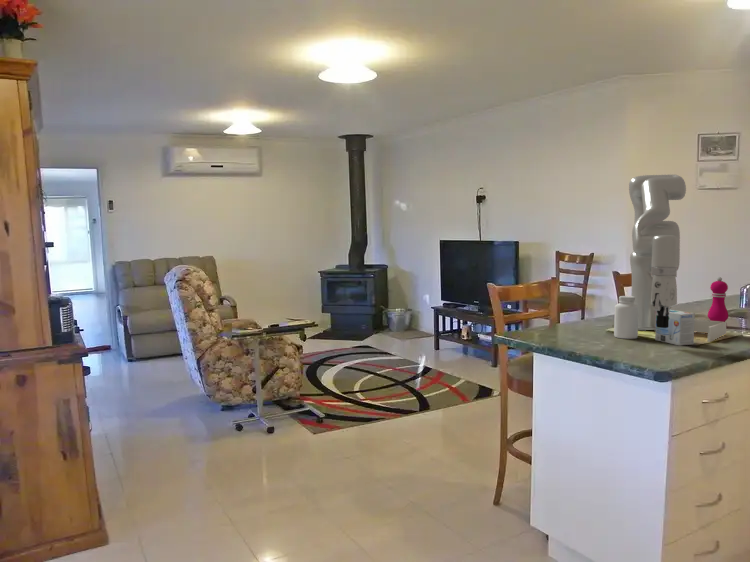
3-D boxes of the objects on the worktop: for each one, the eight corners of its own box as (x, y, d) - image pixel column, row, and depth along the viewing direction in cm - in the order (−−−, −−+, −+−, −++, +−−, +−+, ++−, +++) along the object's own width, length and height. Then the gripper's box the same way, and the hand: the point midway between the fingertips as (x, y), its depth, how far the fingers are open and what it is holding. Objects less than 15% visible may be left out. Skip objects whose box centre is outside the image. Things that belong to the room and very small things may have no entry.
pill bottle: (635, 335, 213) (636, 295, 212) (639, 339, 206) (640, 298, 204) (612, 335, 216) (613, 295, 214) (615, 338, 208) (616, 297, 207)
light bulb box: (654, 340, 205) (655, 310, 204) (668, 338, 207) (669, 309, 206) (679, 345, 195) (681, 314, 194) (694, 344, 197) (695, 313, 196)
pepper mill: (703, 325, 234) (705, 276, 232) (714, 324, 237) (716, 276, 235) (720, 328, 227) (722, 278, 226) (732, 327, 230) (734, 277, 229)
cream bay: (709, 341, 201) (710, 327, 201) (660, 335, 213) (660, 322, 213) (725, 335, 212) (726, 322, 212) (678, 330, 225) (678, 317, 224)
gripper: (666, 273, 183) (665, 330, 184) (684, 272, 193) (682, 326, 194) (642, 272, 189) (641, 328, 190) (661, 271, 199) (659, 324, 200)
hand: (662, 327), depth 192 cm, fingers closed
